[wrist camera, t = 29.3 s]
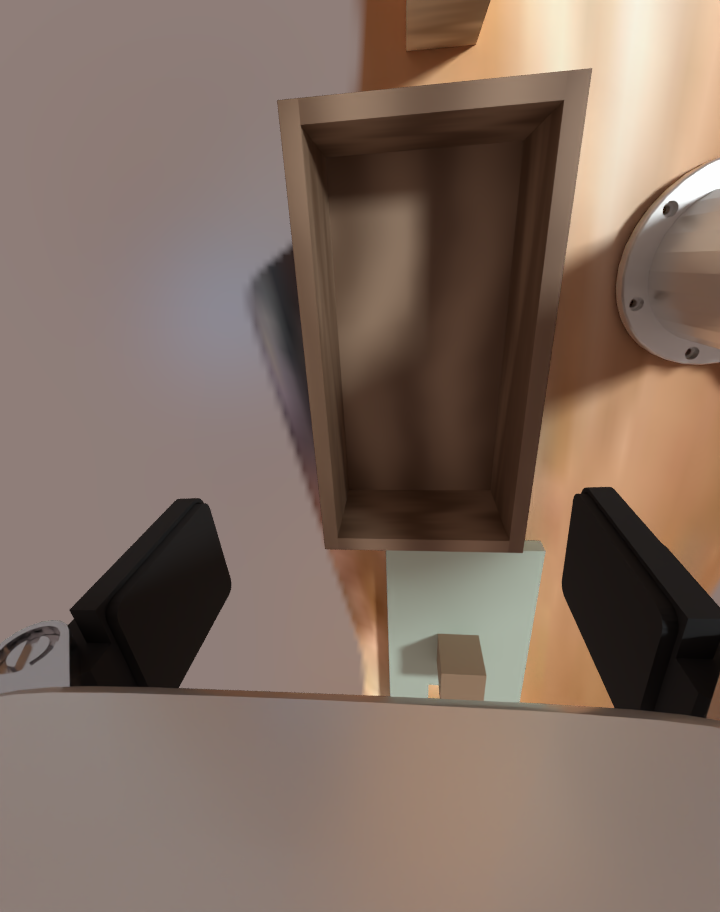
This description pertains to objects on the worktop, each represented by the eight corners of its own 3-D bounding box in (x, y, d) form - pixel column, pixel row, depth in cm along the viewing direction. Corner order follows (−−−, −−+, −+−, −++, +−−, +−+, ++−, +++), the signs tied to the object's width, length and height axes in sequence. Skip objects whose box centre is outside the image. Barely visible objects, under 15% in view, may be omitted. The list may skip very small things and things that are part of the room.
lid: (540, 540, 38) (563, 587, 32) (510, 721, 49) (524, 779, 43) (386, 538, 39) (383, 582, 34) (391, 714, 50) (389, 769, 45)
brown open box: (538, 123, 25) (592, 68, 18) (499, 494, 36) (522, 553, 29) (311, 143, 27) (277, 100, 19) (340, 493, 38) (325, 549, 30)
